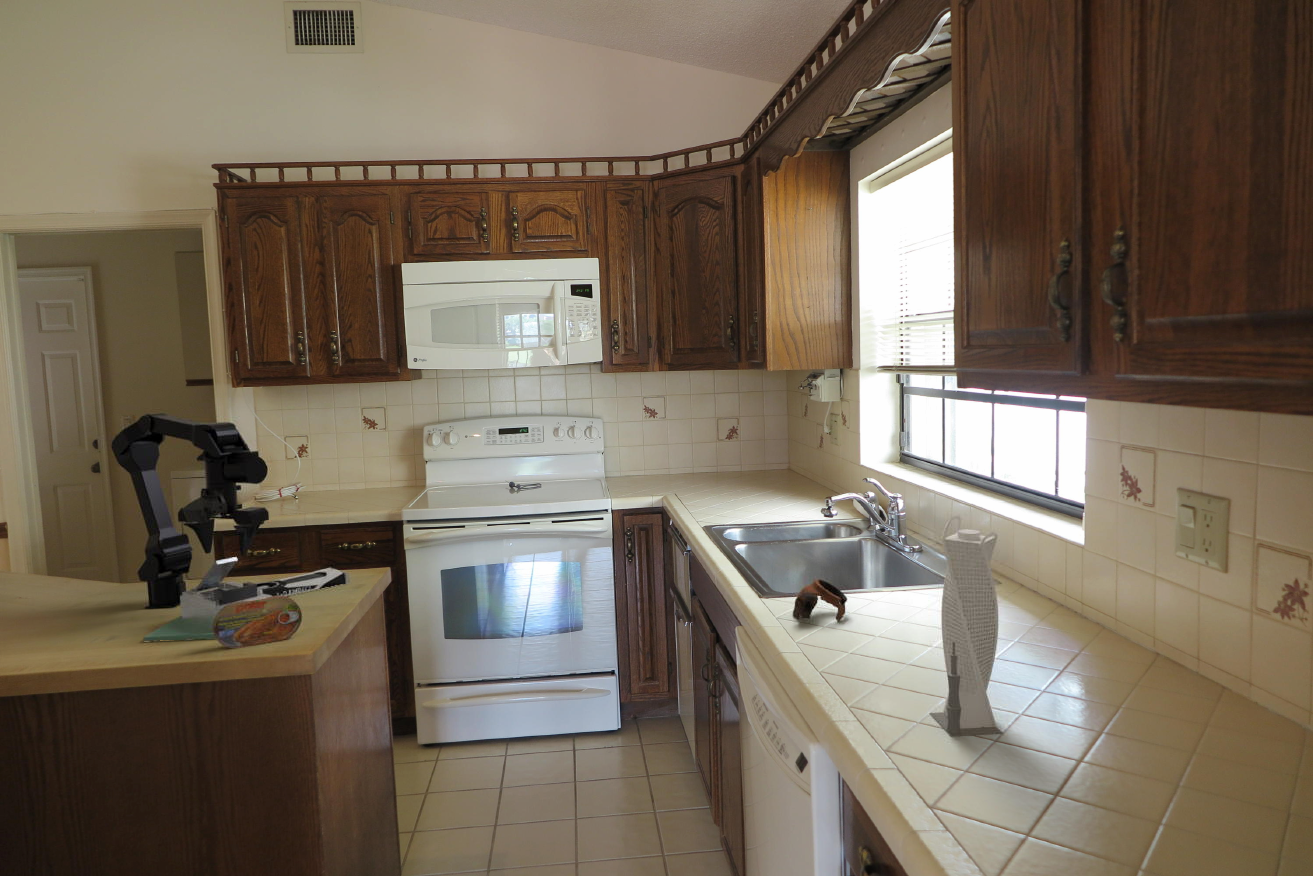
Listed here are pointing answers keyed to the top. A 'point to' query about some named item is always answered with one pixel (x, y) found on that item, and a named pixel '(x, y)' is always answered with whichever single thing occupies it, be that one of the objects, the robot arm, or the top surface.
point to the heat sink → (215, 601)
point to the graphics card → (304, 582)
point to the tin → (257, 621)
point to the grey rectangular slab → (216, 574)
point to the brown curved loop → (810, 597)
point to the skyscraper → (968, 632)
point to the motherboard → (180, 631)
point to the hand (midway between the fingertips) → (225, 554)
